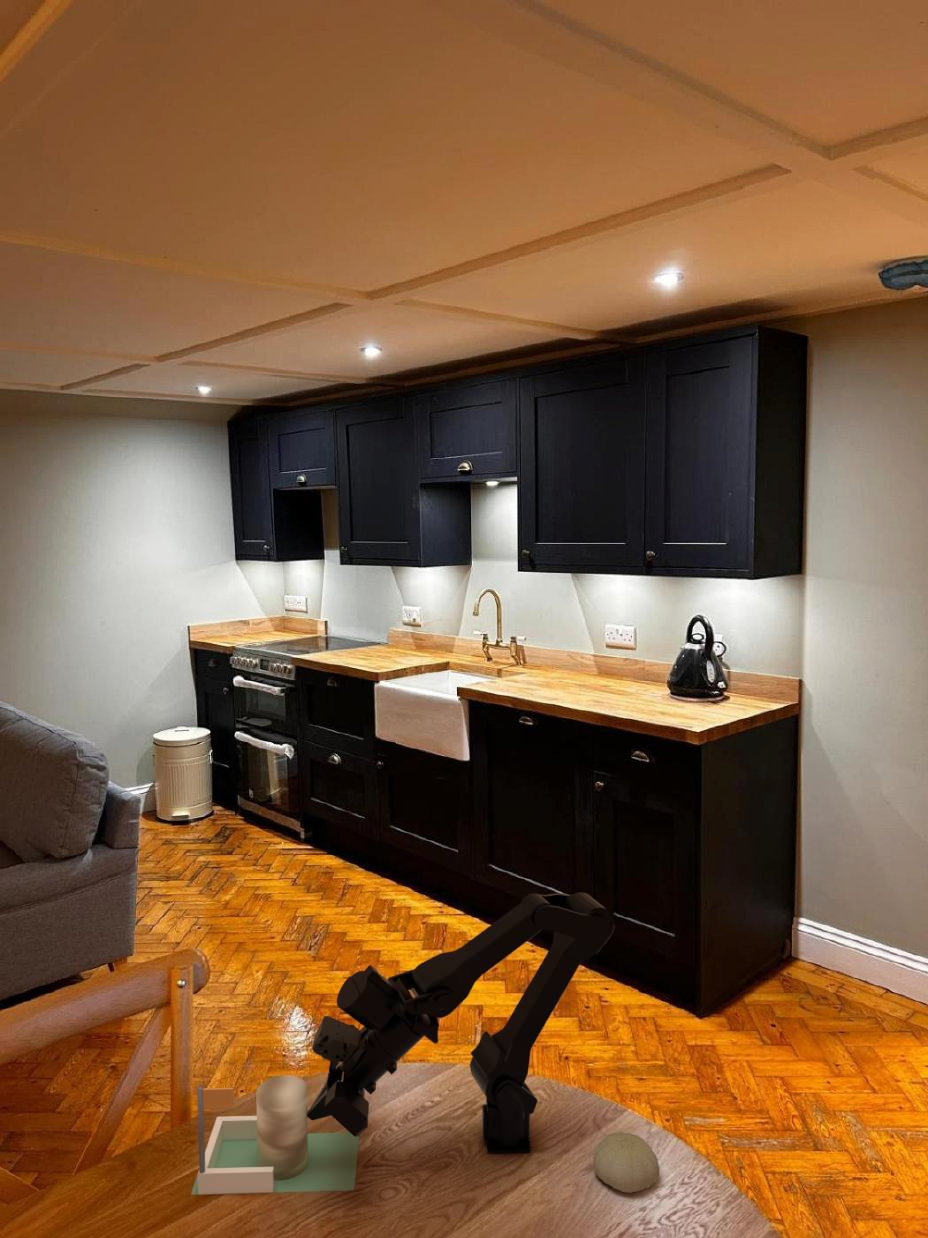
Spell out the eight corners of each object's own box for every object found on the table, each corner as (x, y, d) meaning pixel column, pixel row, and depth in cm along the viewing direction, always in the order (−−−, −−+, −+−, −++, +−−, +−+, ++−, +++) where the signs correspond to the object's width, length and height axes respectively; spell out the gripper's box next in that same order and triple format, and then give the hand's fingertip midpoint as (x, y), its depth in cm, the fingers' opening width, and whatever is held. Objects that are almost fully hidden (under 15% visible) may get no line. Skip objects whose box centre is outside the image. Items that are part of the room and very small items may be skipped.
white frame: (285, 1134, 137) (284, 1038, 136) (272, 1192, 126) (270, 1088, 124) (217, 1135, 137) (215, 1040, 135) (198, 1194, 125) (195, 1090, 123)
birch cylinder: (310, 1145, 135) (309, 1074, 134) (305, 1179, 128) (304, 1105, 127) (262, 1147, 135) (260, 1076, 133) (254, 1181, 128) (252, 1106, 126)
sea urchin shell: (654, 1138, 136) (659, 1127, 130) (657, 1201, 131) (663, 1193, 125) (591, 1134, 137) (594, 1123, 130) (592, 1196, 132) (595, 1188, 126)
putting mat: (359, 1138, 138) (359, 1132, 138) (354, 1197, 126) (354, 1190, 126) (210, 1142, 137) (210, 1136, 137) (190, 1201, 125) (190, 1194, 125)
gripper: (351, 971, 139) (278, 1042, 139) (341, 1041, 120) (256, 1122, 121) (404, 1020, 140) (331, 1090, 141) (402, 1097, 121) (317, 1177, 122)
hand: (309, 1117), depth 131 cm, fingers closed
